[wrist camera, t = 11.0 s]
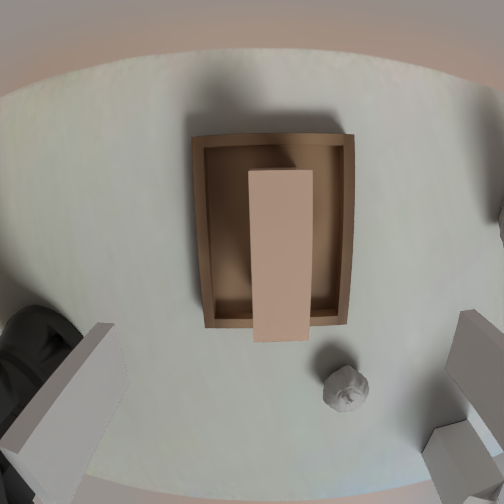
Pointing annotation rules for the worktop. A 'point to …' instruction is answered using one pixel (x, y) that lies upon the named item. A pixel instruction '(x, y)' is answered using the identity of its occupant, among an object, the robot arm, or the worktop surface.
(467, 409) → the worktop surface
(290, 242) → the tan rectangular block
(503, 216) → the stone tool
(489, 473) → the milk carton
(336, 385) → the garlic
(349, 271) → the tray
